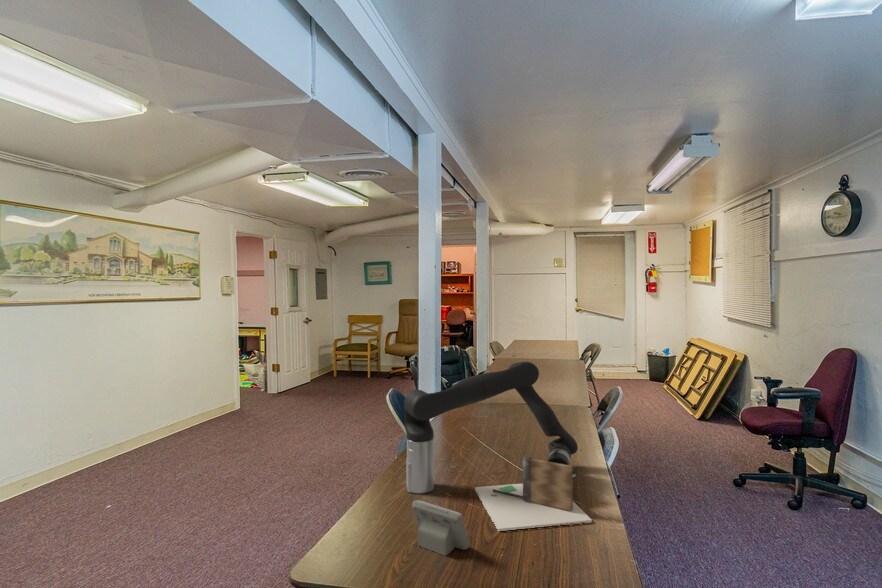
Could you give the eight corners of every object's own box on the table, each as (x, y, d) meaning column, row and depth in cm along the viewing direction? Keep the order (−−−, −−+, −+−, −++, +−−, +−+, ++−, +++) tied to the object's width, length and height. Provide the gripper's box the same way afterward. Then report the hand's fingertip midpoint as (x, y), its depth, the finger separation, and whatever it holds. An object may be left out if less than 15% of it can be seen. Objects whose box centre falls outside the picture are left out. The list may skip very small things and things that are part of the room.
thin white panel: (498, 532, 132) (498, 528, 132) (475, 490, 159) (475, 486, 159) (591, 523, 136) (591, 519, 136) (553, 483, 164) (553, 480, 164)
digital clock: (472, 550, 123) (472, 509, 123) (448, 564, 117) (448, 521, 117) (430, 527, 135) (430, 490, 135) (406, 539, 128) (406, 500, 128)
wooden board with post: (491, 492, 154) (491, 453, 154) (495, 489, 156) (494, 450, 156) (570, 511, 140) (570, 468, 140) (573, 507, 143) (573, 465, 143)
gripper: (539, 450, 164) (531, 468, 148) (578, 454, 160) (575, 473, 143) (539, 471, 164) (531, 492, 148) (578, 476, 160) (575, 498, 143)
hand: (553, 483), depth 145 cm, fingers closed
